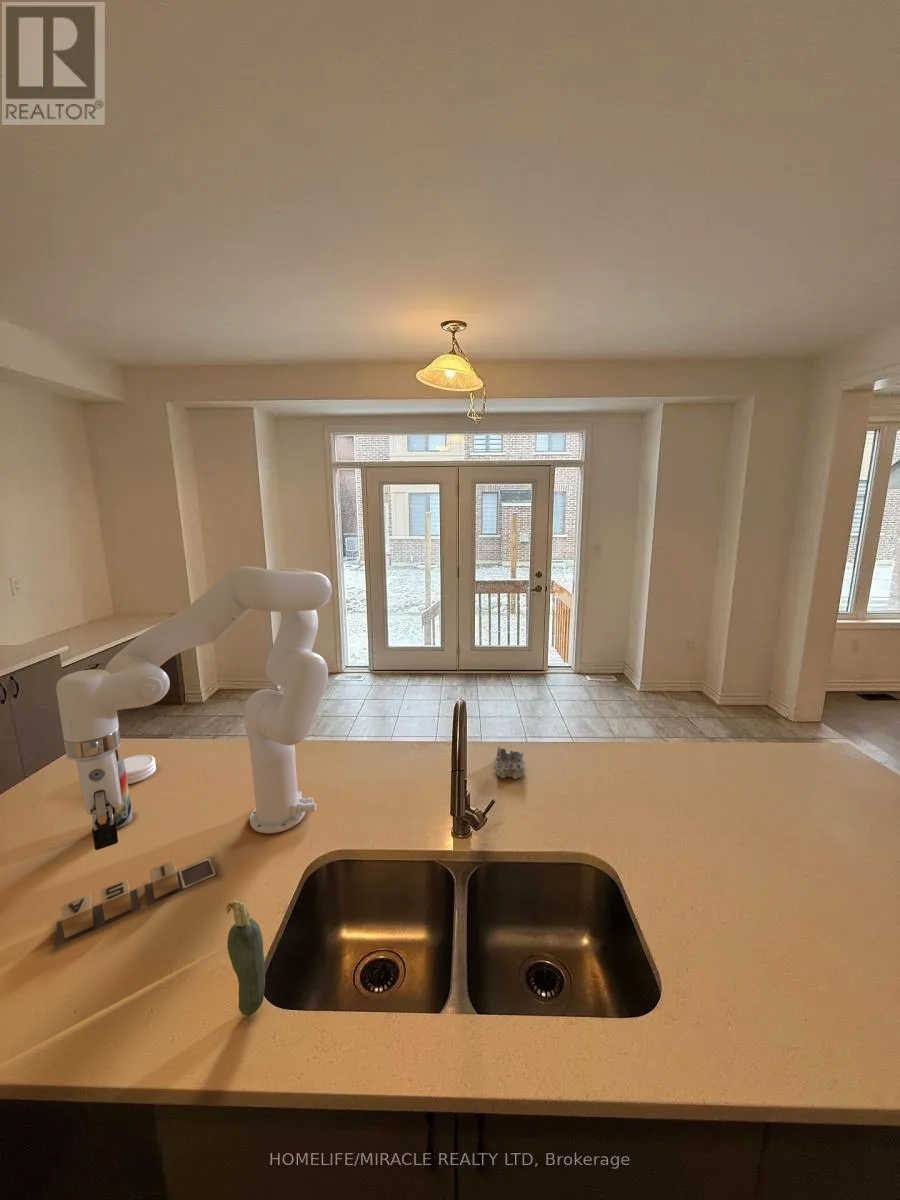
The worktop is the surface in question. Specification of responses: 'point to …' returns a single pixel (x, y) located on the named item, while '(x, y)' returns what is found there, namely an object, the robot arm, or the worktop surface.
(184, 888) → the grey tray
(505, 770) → the egg carton
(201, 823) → the worktop surface
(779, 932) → the worktop surface
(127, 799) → the lotion bottle
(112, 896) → the tile
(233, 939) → the vegetable
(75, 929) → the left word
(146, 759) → the coaster
